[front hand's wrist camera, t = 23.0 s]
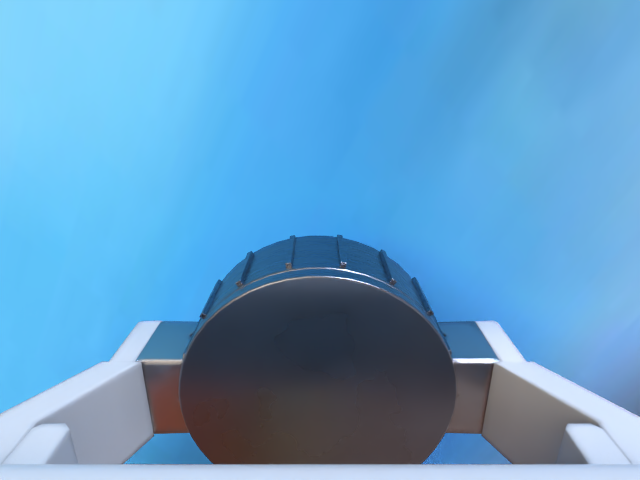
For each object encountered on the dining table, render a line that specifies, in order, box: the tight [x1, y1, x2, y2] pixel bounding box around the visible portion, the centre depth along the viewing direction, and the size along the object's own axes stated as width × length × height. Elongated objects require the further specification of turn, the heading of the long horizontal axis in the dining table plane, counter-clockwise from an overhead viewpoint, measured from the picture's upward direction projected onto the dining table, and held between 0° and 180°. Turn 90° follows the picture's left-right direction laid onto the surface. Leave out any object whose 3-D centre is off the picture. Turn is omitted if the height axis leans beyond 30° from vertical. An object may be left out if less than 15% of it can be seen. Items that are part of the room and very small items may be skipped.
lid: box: [179, 235, 457, 464], centre depth 9 cm, size 5×5×2 cm
